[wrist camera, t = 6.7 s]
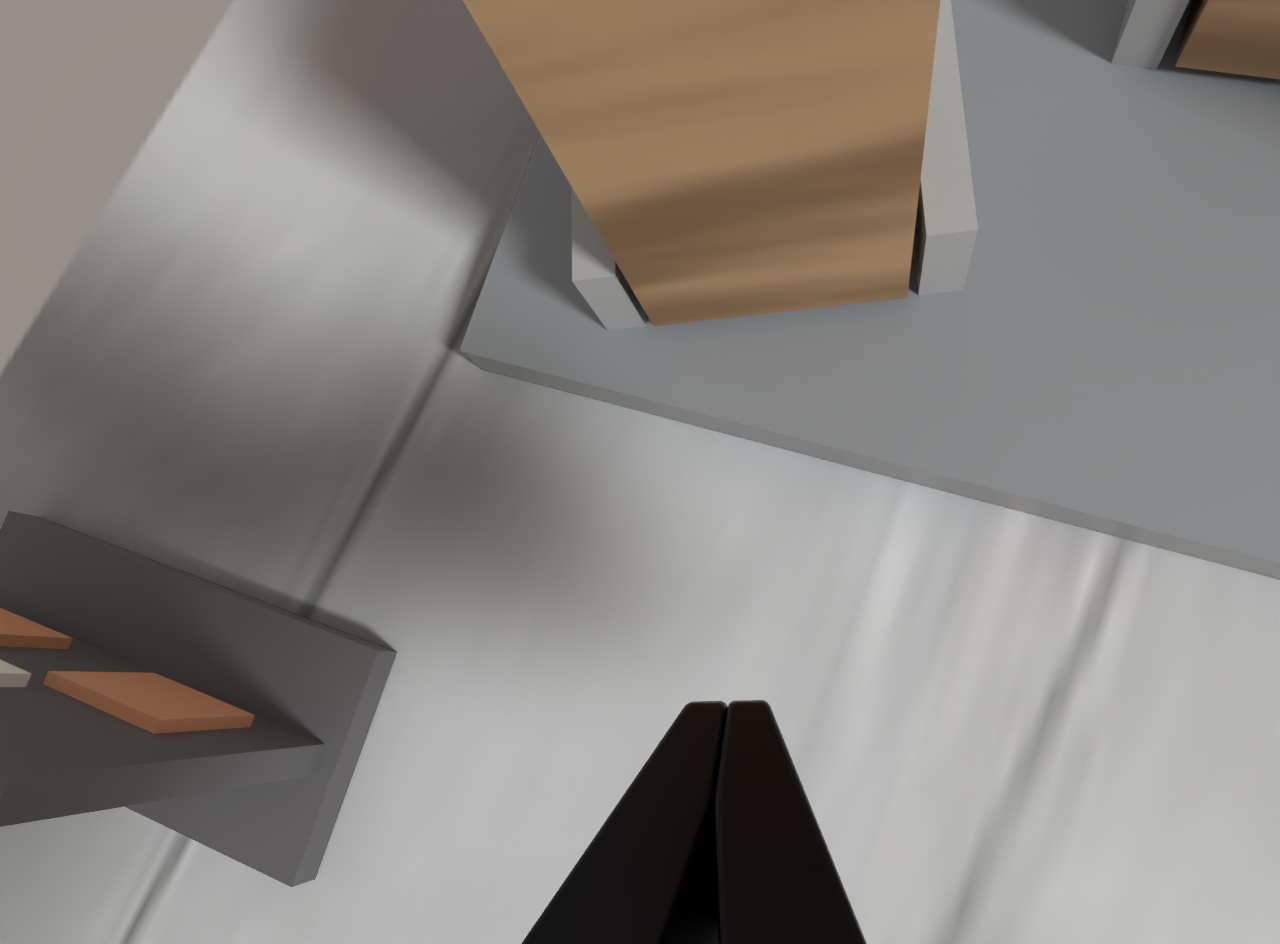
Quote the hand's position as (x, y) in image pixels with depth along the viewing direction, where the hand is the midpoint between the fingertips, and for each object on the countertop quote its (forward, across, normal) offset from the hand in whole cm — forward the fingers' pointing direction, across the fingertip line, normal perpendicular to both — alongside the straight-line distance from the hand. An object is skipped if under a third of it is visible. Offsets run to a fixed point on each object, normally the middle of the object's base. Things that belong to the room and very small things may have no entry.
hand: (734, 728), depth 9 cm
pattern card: (+10, +18, +8) cm, 22 cm away
